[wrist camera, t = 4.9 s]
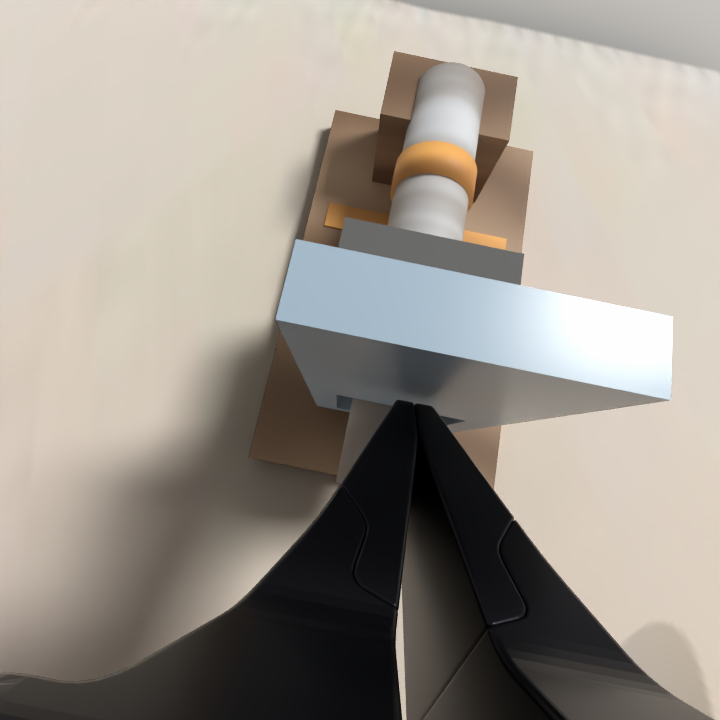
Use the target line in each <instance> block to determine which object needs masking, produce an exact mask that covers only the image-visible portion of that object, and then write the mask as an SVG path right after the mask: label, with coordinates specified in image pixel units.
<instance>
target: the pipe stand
mask: <svg viewBox="0 0 720 720" xmlns="http://www.w3.org/2000/svg"><path fill="white" fill-rule="evenodd" d="M517 79H518V77H514V76H509V75H505V74H500V73H495V72H490V71H486V70H481V69H476V68H472V67H468V66H466V65H463V64H460V63H450V62H449V63H448V62H443V61H438V60H434V59H429V58H424V57H419V56H415V55H410V54H405V53H400V52H396V51H394V55H393V59H392V64H391V68H390V73H389V77H388V82H387V87H386V91H385V96H384V100H383V105H382V109H381V114H380V119H376V118H371V117H366V116H361V115H357V114H352V113H347V112H342V111H337V110H335V114H334V118H333V122H332V126H331V130H330V134H329V138H328V142H327V146H326V150H325V154H324V158H323V162H322V166H321V170H320V174H319V178H318V182H317V186H316V190H315V194H314V198H313V202H312V206H311V210H310V214H309V218H308V222H307V226H306V230H305V234H304V238H303V241H308V242H313V243H318V244H323V245H327V246H332V247H337V248H338V246H339V242H340V237H341V233H342V229H343V224H344V220H345V217H348V218H353V219H358V220H363V221H367V222H372V223H377V224H382V225H387V226H392V227H396V228H401V229H406V230H411V231H416V232H421V233H425V234H430V235H435V236H440V237H445V238H450V239H454V240H459V241H464V242H469V243H474V244H479V245H483V246H488V247H493V248H498V249H503V250H508V251H512V252H517V253H521V252H522V243H523V234H524V226H525V217H526V209H527V200H528V192H529V183H530V175H531V166H532V158H533V151H529V150H524V149H519V148H514V147H510V146H506V145H507V144H508V142H509V138H510V131H511V123H512V116H513V109H514V101H515V94H516V86H517ZM391 407H392V406H390V405H385V404H380V403H375V402H370V401H365V400H360V399H356V398H353V399H352V404H351V409H350V412H345V411H340V410H335V409H330V408H325V407H320V406H317V405H316V403H315V401H314V399H313V396H312V394H311V392H310V390H309V388H308V386H307V384H306V382H305V380H304V378H303V376H302V374H301V372H300V370H299V367H298V365H297V363H296V361H295V359H294V357H293V355H292V353H291V351H290V349H289V347H288V345H287V343H286V341H285V338H284V336H283V334H282V332H281V330H280V334H279V338H278V342H277V346H276V350H275V354H274V358H273V362H272V366H271V370H270V374H269V377H268V381H267V385H266V389H265V393H264V397H263V401H262V405H261V409H260V413H259V417H258V421H257V425H256V429H255V433H254V437H253V441H252V445H251V449H250V453H249V457H248V458H253V459H258V460H263V461H268V462H273V463H278V464H283V465H288V466H293V467H298V468H303V469H308V470H313V471H318V472H323V473H328V474H333V475H337V479H336V483H338V484H341V483H342V481H343V480H344V478H345V477H346V475H347V473H348V472H349V470H350V469H351V467H352V466H353V464H354V463H355V461H356V460H357V458H358V457H359V455H360V454H361V452H362V451H363V449H364V448H365V446H366V445H367V443H368V442H369V440H370V439H371V437H372V436H373V434H374V433H375V431H376V430H377V428H378V427H379V425H380V424H381V422H382V421H383V419H384V418H385V416H386V415H387V413H388V411H389V410H390V408H391ZM500 431H501V425H499V426H493V427H486V428H479V429H472V430H465V431H459V432H452V434H453V435H454V436H455V438H456V439H457V440H458V442H459V443H460V444H461V446H462V447H463V449H464V450H465V451H466V453H467V454H468V455H469V457H470V458H471V459H472V461H473V462H474V464H475V465H476V466H477V468H478V469H479V470H480V472H481V473H482V474H483V476H484V477H485V479H486V480H487V481H488V483H489V484H490V485H491V487H492V488H493V490H494V482H495V473H496V465H497V456H498V448H499V439H500Z"/></svg>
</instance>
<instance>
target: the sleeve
mask: <svg viewBox="0 0 720 720" xmlns="http://www.w3.org/2000/svg"><path fill="white" fill-rule="evenodd" d="M275 320H276V322H277V324H278V326H279V328H280V330H281V332H282V334H283V336H284V338H285V341H286V343H287V345H288V347H289V349H290V351H291V353H292V355H293V357H294V359H295V361H296V363H297V365H298V367H299V370H300V372H301V374H302V376H303V378H304V380H305V382H306V384H307V386H308V388H309V390H310V392H311V394H312V396H313V399H314V401H315V403H316V405H317V406H320V407H325V408H330V409H335V410H340V411H345V412H350V409H351V404H352V399H353V398H356V399H360V400H365V401H370V402H375V403H380V404H385V405H390V406H392V405H393V404H394V402H395V401H396V400H404V401H409V402H412V403H414V405H415V404H416V403H419V404H424V405H429V406H432V407H433V408H434V409H435V410H436V412H437V413H438V414H439V416H440V417H441V418H442V420H443V421H444V423H445V424H446V425H447V427H448V428H449V429H450V431H451V432H459V431H465V430H472V429H479V428H486V427H493V426H499V425H506V424H513V423H520V422H526V421H533V420H540V419H547V418H554V417H560V416H567V415H574V414H581V413H588V412H594V411H601V410H608V409H615V408H622V407H628V406H635V405H642V404H649V403H655V402H662V401H669V400H671V378H672V338H673V317H672V316H667V315H662V314H658V313H653V312H648V311H643V310H638V309H633V308H628V307H624V306H619V305H614V304H609V303H604V302H599V301H594V300H590V299H585V298H580V297H575V296H570V295H565V294H560V293H556V292H551V291H546V290H541V289H536V288H531V287H526V286H522V285H517V284H512V283H507V282H502V281H497V280H493V279H488V278H483V277H478V276H473V275H468V274H463V273H459V272H454V271H449V270H444V269H439V268H434V267H429V266H425V265H420V264H415V263H410V262H405V261H400V260H395V259H391V258H386V257H381V256H376V255H371V254H366V253H361V252H357V251H352V250H347V249H342V248H337V247H332V246H327V245H323V244H318V243H313V242H308V241H303V240H298V239H296V240H295V244H294V248H293V252H292V256H291V260H290V264H289V268H288V272H287V276H286V280H285V284H284V288H283V291H282V295H281V299H280V303H279V307H278V311H277V315H276V319H275Z"/></svg>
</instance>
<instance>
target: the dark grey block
mask: <svg viewBox="0 0 720 720" xmlns="http://www.w3.org/2000/svg"><path fill="white" fill-rule="evenodd" d="M338 248H342V249H347V250H352V251H357V252H361V253H366V254H371V255H376V256H381V257H386V258H391V259H395V260H400V261H405V262H410V263H415V264H420V265H425V266H429V267H434V268H439V269H444V270H449V271H454V272H459V273H463V274H468V275H473V276H478V277H483V278H488V279H493V280H497V281H502V282H507V283H512V284H517V285H521V276H522V267H523V259H524V254H522V253H517V252H512V251H508V250H503V249H498V248H493V247H488V246H483V245H479V244H474V243H469V242H464V241H459V240H454V239H450V238H445V237H440V236H435V235H430V234H425V233H421V232H416V231H411V230H406V229H401V228H396V227H392V226H387V225H382V224H377V223H372V222H367V221H363V220H358V219H353V218H348V217H345V220H344V224H343V229H342V233H341V237H340V242H339V246H338Z"/></svg>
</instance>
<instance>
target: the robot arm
mask: <svg viewBox="0 0 720 720" xmlns="http://www.w3.org/2000/svg"><path fill="white" fill-rule="evenodd" d="M513 520H514V517H513V515H512V514H511V513H510V511H509V510H508V509H507V507H506V506H505V505H504V503H503V502H502V500H501V499H500V498H499V496H498V495H497V494H496V492H495V491H494V490H493V488H492V487H491V485H490V484H489V483H488V481H487V480H486V479H485V477H484V476H483V474H482V473H481V472H480V470H479V469H478V468H477V466H476V465H475V464H474V462H473V461H472V459H471V458H470V457H469V455H468V454H467V453H466V451H465V450H464V449H463V447H462V446H461V444H460V443H459V442H458V440H457V439H456V438H455V436H454V435H453V434H452V432H451V431H450V429H449V428H448V427H447V425H446V424H445V423H444V421H443V420H442V418H441V417H440V416H439V414H438V413H437V412H436V410H435V409H434V408H433V407H432V406H429V405H424V404H419V403H416V404H415V405H414V403H412V402H409V401H404V400H396V401H395V402H394V404H393V405H392V407H391V408H390V410H389V411H388V413H387V415H386V416H385V418H384V419H383V421H382V422H381V424H380V425H379V427H378V428H377V430H376V431H375V433H374V434H373V436H372V437H371V439H370V440H369V442H368V443H367V445H366V446H365V448H364V449H363V451H362V452H361V454H360V455H359V457H358V458H357V460H356V461H355V463H354V464H353V466H352V467H351V469H350V470H349V472H348V473H347V475H346V477H345V478H344V480H343V481H342V483H341V484H340V486H339V487H338V488H337V490H336V491H335V493H334V494H333V496H332V497H331V499H330V500H329V501H328V503H327V504H326V506H325V507H324V508H323V510H322V511H321V513H320V514H319V515H318V517H317V518H316V519H315V520H314V521H313V523H312V524H311V525H310V526H309V527H308V528H307V530H306V531H305V532H304V533H303V534H302V535H301V537H300V538H299V539H298V540H297V541H296V542H295V543H294V544H293V545H292V546H291V547H290V549H289V550H288V551H287V552H286V553H285V554H284V555H283V556H282V557H281V558H280V559H279V561H278V562H277V563H276V564H275V565H274V566H273V567H272V568H271V569H270V570H269V572H268V573H267V574H266V575H265V576H264V577H263V578H262V579H261V580H260V581H259V582H258V583H257V584H256V586H255V587H254V588H253V589H252V590H251V591H250V592H249V593H248V594H247V595H245V596H244V597H243V598H242V599H241V600H240V601H239V602H238V603H237V604H235V605H234V606H233V607H232V608H230V609H229V610H228V611H226V612H224V613H223V614H221V615H220V616H218V617H216V618H214V619H213V620H211V621H209V622H207V623H206V624H204V625H202V626H200V627H199V628H197V629H195V630H193V631H192V632H190V633H188V634H187V635H185V636H183V637H181V638H180V639H178V640H176V641H174V642H173V643H171V644H169V645H167V646H166V647H164V648H162V649H160V650H159V651H157V652H155V653H153V654H152V655H150V656H148V657H146V658H145V659H143V660H141V661H140V662H138V663H136V664H134V665H133V666H131V667H128V668H126V669H124V670H122V671H120V672H118V673H116V674H112V675H109V676H106V677H102V678H99V679H94V680H86V681H79V682H75V681H59V680H54V679H49V678H44V677H38V676H33V675H26V674H19V673H0V720H402V713H401V702H400V692H399V681H398V670H397V660H396V646H395V644H396V626H397V616H398V612H397V611H398V608H399V600H400V591H401V583H402V604H403V632H404V660H405V688H406V716H407V720H714V719H712V718H710V717H709V716H707V715H705V714H704V713H702V712H700V711H699V710H697V709H695V708H693V707H692V706H690V705H688V704H686V703H685V702H683V701H682V700H680V699H678V698H677V697H675V696H674V695H672V694H671V693H670V692H668V691H667V690H665V689H664V688H663V687H661V686H660V685H659V684H658V683H656V682H655V681H654V680H653V679H652V678H650V677H649V676H648V675H647V674H646V673H645V672H644V671H643V670H642V669H641V668H640V667H639V666H638V665H637V664H636V663H635V662H634V661H633V660H632V659H631V658H630V657H629V656H628V655H627V653H626V652H625V651H624V650H623V649H622V648H621V647H620V645H619V644H618V643H617V642H616V641H615V640H614V639H613V637H612V636H611V635H610V634H609V633H608V632H607V630H606V629H605V628H604V627H603V626H602V625H601V624H600V622H599V621H598V620H597V619H596V618H595V617H594V615H593V614H592V613H591V612H590V611H589V610H588V609H587V607H586V606H585V605H584V604H583V603H582V602H581V601H580V599H579V598H578V597H577V596H576V595H575V594H574V592H573V591H572V590H571V589H570V588H569V587H568V585H567V584H566V583H565V582H564V581H563V580H562V578H561V577H560V576H559V575H558V574H557V572H556V571H555V570H554V569H553V568H552V566H551V565H550V564H549V563H548V562H547V560H546V559H545V558H544V557H543V555H542V554H541V553H540V551H539V550H538V549H537V547H536V546H535V545H534V544H533V542H532V541H531V540H530V538H529V537H528V536H527V534H526V533H525V532H524V530H523V529H522V528H521V526H520V525H519V523H518V522H517V521H516V520H514V521H513Z"/></svg>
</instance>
